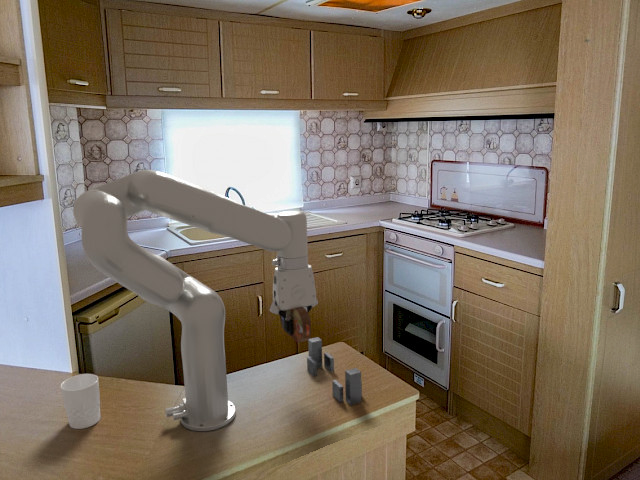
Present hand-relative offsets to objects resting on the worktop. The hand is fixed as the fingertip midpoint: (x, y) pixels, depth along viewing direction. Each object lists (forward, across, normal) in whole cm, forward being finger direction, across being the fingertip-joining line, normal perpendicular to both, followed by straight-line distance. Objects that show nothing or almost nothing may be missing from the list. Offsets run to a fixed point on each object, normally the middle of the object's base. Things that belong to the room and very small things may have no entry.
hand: (295, 331), depth 130 cm
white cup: (+15, -50, +9) cm, 53 cm away
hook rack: (+15, +9, -3) cm, 18 cm away
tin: (+1, 0, 0) cm, 1 cm away
